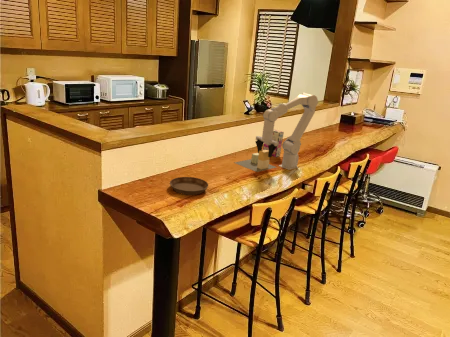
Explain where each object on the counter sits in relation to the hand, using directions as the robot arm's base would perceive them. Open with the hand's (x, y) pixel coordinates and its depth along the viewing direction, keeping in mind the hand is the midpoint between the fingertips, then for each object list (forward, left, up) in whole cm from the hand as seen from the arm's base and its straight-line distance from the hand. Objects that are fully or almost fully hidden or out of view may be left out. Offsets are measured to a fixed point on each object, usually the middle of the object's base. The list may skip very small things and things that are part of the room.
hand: (264, 155), depth 209 cm
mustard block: (0, 0, -3) cm, 3 cm away
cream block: (0, 0, -8) cm, 8 cm away
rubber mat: (0, -6, -8) cm, 10 cm away
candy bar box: (-28, -16, -8) cm, 33 cm away
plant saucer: (+57, +3, -8) cm, 58 cm away
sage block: (-5, -9, -8) cm, 13 cm away
